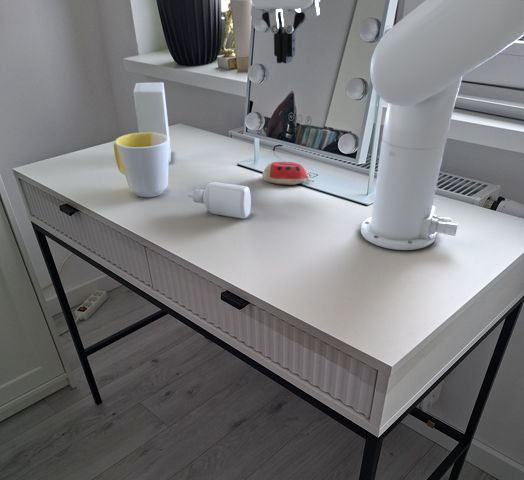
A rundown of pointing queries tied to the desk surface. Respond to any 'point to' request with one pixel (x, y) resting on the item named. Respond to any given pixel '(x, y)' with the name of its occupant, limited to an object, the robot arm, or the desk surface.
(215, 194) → the eye dropper bottle
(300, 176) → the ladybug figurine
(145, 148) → the mug
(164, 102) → the cosmetic box
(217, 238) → the desk surface
